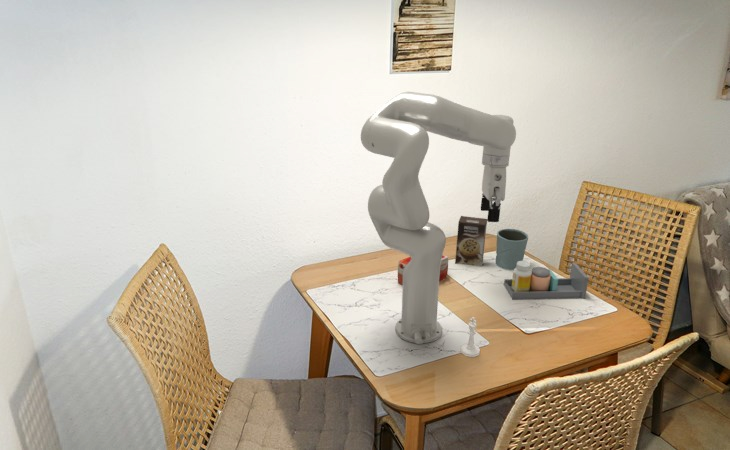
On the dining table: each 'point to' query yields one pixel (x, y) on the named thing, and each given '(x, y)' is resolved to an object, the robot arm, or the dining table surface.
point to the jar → (540, 279)
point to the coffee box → (470, 241)
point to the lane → (565, 288)
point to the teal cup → (510, 248)
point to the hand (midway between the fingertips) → (489, 215)
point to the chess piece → (471, 342)
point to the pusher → (553, 282)
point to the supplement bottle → (521, 277)
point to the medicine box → (405, 261)
